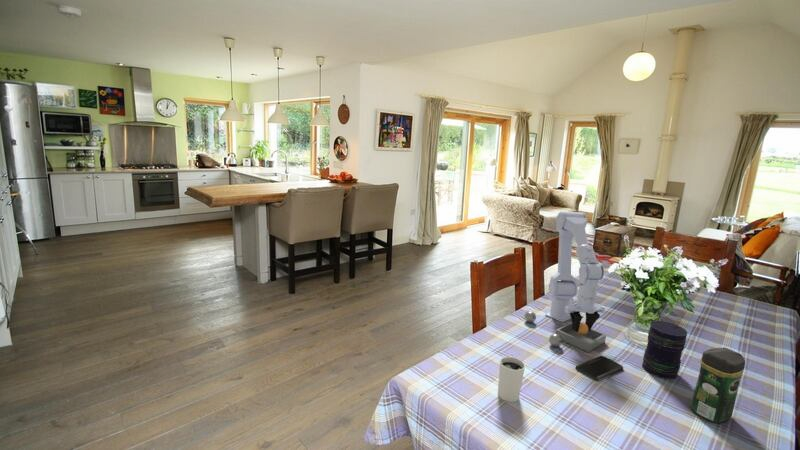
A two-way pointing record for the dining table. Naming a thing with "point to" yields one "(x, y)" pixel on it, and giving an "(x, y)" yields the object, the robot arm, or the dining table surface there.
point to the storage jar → (664, 349)
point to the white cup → (510, 378)
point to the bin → (581, 338)
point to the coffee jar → (717, 384)
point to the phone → (599, 368)
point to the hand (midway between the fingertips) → (581, 330)
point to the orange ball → (582, 328)
